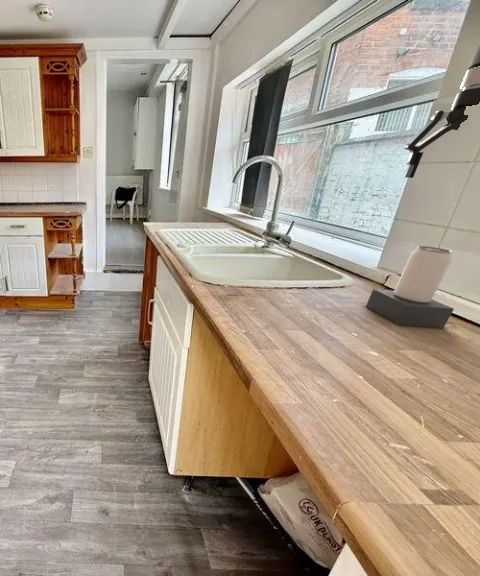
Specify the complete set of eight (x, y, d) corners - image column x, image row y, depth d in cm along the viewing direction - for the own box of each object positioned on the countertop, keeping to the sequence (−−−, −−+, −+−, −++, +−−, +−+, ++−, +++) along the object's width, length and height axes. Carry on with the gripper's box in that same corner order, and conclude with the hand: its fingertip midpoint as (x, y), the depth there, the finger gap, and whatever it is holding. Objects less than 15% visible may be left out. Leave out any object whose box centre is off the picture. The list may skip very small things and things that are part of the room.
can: (425, 297, 74) (449, 248, 69) (434, 306, 69) (460, 254, 64) (390, 290, 77) (410, 244, 72) (396, 298, 72) (419, 249, 67)
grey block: (404, 309, 79) (413, 291, 77) (443, 328, 70) (454, 308, 68) (365, 306, 79) (373, 288, 78) (398, 325, 70) (408, 305, 68)
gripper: (538, 90, 75) (492, 182, 83) (409, 93, 84) (378, 176, 92) (567, 83, 69) (513, 182, 77) (424, 87, 77) (389, 176, 85)
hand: (440, 179), depth 84 cm, fingers open, 13 cm apart
